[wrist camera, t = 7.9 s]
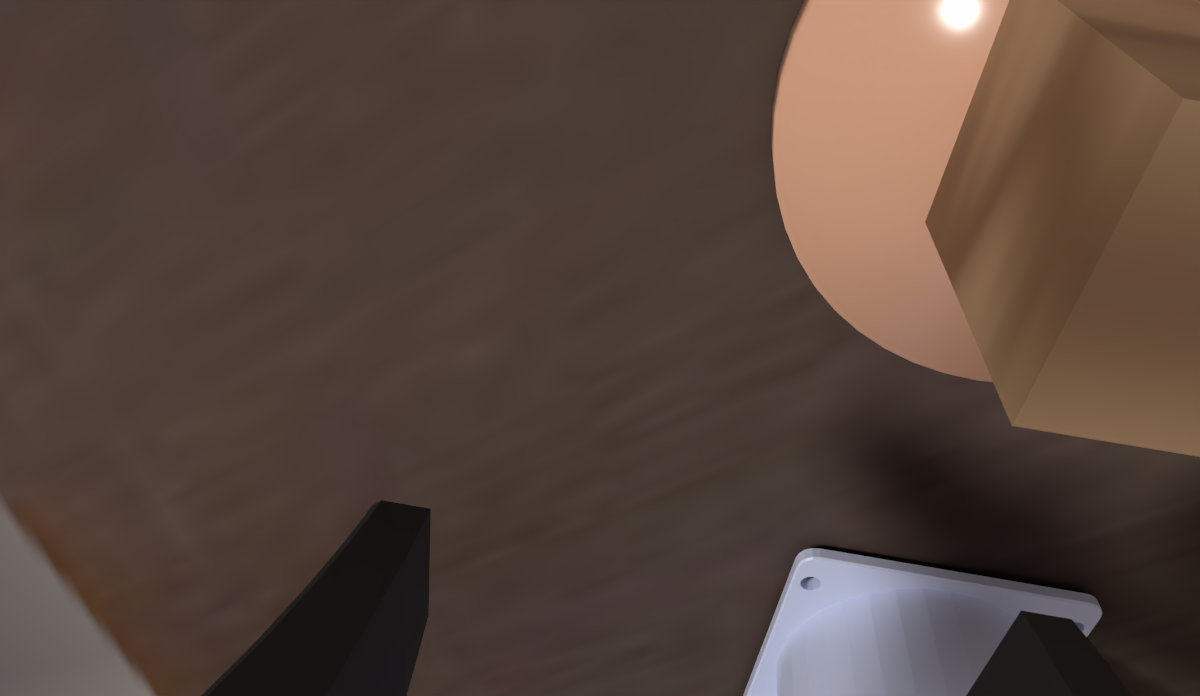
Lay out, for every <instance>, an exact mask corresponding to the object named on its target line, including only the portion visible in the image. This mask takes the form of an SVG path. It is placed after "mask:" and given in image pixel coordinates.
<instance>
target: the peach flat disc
mask: <svg viewBox="0 0 1200 696" xmlns="http://www.w3.org/2000/svg"><path fill="white" fill-rule="evenodd" d="M1008 2H1009V0H803V2H802V4H801V6H800V9H799V11H798V13H797V15H796V17H795V20H794V22H793V24H792V26H791V29H790V33H789V36H788V39H787V42H786V45H785V48H784V52H783V55H782V58H781V61H780V64H779V69H778V75H777V80H776V86H775V91H774V97H773V103H772V124H771V147H772V157H773V167H774V176H775V184H776V192H777V198H778V202H779V206H780V210H781V214H782V218H783V222H784V226H785V229H786V232H787V234H788V236H789V239H790V241H791V244H792V246H793V248H794V251H795V253H796V256H797V258H798V260H799V261H800V263H801V265H802V266H803V268H804V270H805V271H806V273H807V275H808V276H809V278H810V279H811V281H812V283H813V284H814V286H815V287H816V288H817V290H818V291H819V292H820V293H821V294H822V296H823V297H824V298H825V299H826V300H827V301H828V303H829V304H830V305H831V306H832V307H833V309H834V310H835V311H836V312H838V313H839V314H840V315H841V316H842V317H843V318H844V319H845V320H846V321H848V322H849V323H850V324H851V325H852V326H853V327H854V328H855V329H857V330H858V331H859V332H861V333H862V334H864V335H865V336H867V337H868V338H870V339H871V340H873V341H874V342H876V343H877V344H879V345H880V346H882V347H883V348H885V349H887V350H889V351H891V352H893V353H895V354H897V355H899V356H901V357H903V358H905V359H907V360H909V361H911V362H914V363H916V364H919V365H922V366H925V367H928V368H931V369H934V370H936V371H939V372H942V373H946V374H951V375H955V376H959V377H964V378H968V379H973V380H978V381H987V382H993V380H992V378H991V376H990V373H989V371H988V369H987V366H986V364H985V362H984V359H983V357H982V355H981V352H980V350H979V347H978V345H977V343H976V340H975V338H974V336H973V333H972V331H971V329H970V326H969V324H968V322H967V319H966V317H965V315H964V312H963V310H962V308H961V305H960V303H959V301H958V298H957V296H956V294H955V291H954V289H953V287H952V284H951V282H950V279H949V277H948V275H947V272H946V270H945V268H944V265H943V263H942V261H941V258H940V256H939V254H938V251H937V249H936V247H935V244H934V242H933V240H932V237H931V235H930V233H929V230H928V228H927V226H926V223H925V221H926V218H927V216H928V213H929V210H930V208H931V205H932V203H933V200H934V197H935V195H936V192H937V189H938V187H939V184H940V182H941V179H942V176H943V174H944V171H945V168H946V166H947V163H948V160H949V158H950V155H951V153H952V150H953V147H954V145H955V142H956V139H957V137H958V134H959V131H960V129H961V126H962V124H963V121H964V118H965V116H966V113H967V110H968V108H969V105H970V102H971V100H972V97H973V95H974V92H975V89H976V87H977V84H978V81H979V79H980V76H981V73H982V71H983V68H984V66H985V63H986V60H987V58H988V55H989V52H990V50H991V47H992V45H993V42H994V39H995V37H996V34H997V31H998V29H999V26H1000V23H1001V21H1002V18H1003V16H1004V13H1005V10H1006V8H1007V5H1008Z"/></svg>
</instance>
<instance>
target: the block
mask: <svg viewBox="0 0 1200 696" xmlns="http://www.w3.org/2000/svg"><path fill="white" fill-rule="evenodd" d="M925 223H926V226H927V228H928V230H929V233H930V235H931V237H932V240H933V242H934V244H935V247H936V249H937V251H938V254H939V256H940V258H941V261H942V263H943V265H944V268H945V270H946V272H947V275H948V277H949V279H950V282H951V284H952V287H953V289H954V291H955V294H956V296H957V298H958V301H959V303H960V305H961V308H962V310H963V312H964V315H965V317H966V319H967V322H968V324H969V326H970V329H971V331H972V333H973V336H974V338H975V340H976V343H977V345H978V347H979V350H980V352H981V355H982V357H983V359H984V362H985V364H986V366H987V369H988V371H989V373H990V376H991V378H992V380H993V383H994V385H995V387H996V390H997V392H998V394H999V397H1000V399H1001V401H1002V404H1003V406H1004V408H1005V411H1006V413H1007V416H1008V418H1009V420H1010V423H1011V425H1012V426H1016V427H1022V428H1028V429H1035V430H1041V431H1047V432H1053V433H1059V434H1065V435H1071V436H1077V437H1083V438H1089V439H1095V440H1101V441H1107V442H1113V443H1120V444H1126V445H1132V446H1138V447H1144V448H1150V449H1156V450H1162V451H1168V452H1174V453H1180V454H1186V455H1192V456H1198V457H1200V0H1009V2H1008V5H1007V8H1006V10H1005V13H1004V16H1003V18H1002V21H1001V23H1000V26H999V29H998V31H997V34H996V37H995V39H994V42H993V45H992V47H991V50H990V52H989V55H988V58H987V60H986V63H985V66H984V68H983V71H982V73H981V76H980V79H979V81H978V84H977V87H976V89H975V92H974V95H973V97H972V100H971V102H970V105H969V108H968V110H967V113H966V116H965V118H964V121H963V124H962V126H961V129H960V131H959V134H958V137H957V139H956V142H955V145H954V147H953V150H952V153H951V155H950V158H949V160H948V163H947V166H946V168H945V171H944V174H943V176H942V179H941V182H940V184H939V187H938V189H937V192H936V195H935V197H934V200H933V203H932V205H931V208H930V210H929V213H928V216H927V218H926V221H925Z"/></svg>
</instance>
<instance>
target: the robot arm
mask: <svg viewBox="0 0 1200 696" xmlns="http://www.w3.org/2000/svg"><path fill="white" fill-rule="evenodd" d="M429 556H430V509H428V508H422V507H416V506H411V505H405V504H399V503H393V502H387V501H382V500H381V501H380V502H378V503H376V504H374V505H372V507H371V508H370V509H369V511H368V512H367V513H366V515H365V516H364V517H363V519H362V520H361V521H360V523H359V524H358V525H357V526H356V528H355V529H354V530H353V531H352V533H351V534H350V535H349V537H348V538H347V539H346V540H345V542H344V543H343V544H342V545H341V546H340V548H339V549H338V550H337V551H336V553H335V554H334V555H333V556H332V557H331V559H330V560H329V561H328V562H327V563H326V564H325V566H324V567H323V568H322V569H321V570H320V571H319V573H318V574H317V575H316V576H315V577H314V578H313V579H312V581H311V582H310V583H309V584H308V585H307V586H306V588H305V589H304V590H303V591H302V592H301V593H300V594H299V595H298V596H297V598H296V599H295V600H294V601H293V602H292V603H291V604H290V605H289V606H288V607H287V608H286V610H285V611H284V612H283V613H282V614H281V615H280V616H279V617H278V618H277V619H276V620H275V621H274V623H273V624H272V625H271V626H270V627H269V628H268V629H267V630H266V631H265V632H264V633H263V634H262V636H261V637H260V638H259V639H258V640H257V641H256V642H255V643H254V644H253V645H252V646H251V647H250V648H249V649H248V650H247V651H246V652H245V653H244V654H243V655H242V656H241V657H240V658H239V659H238V660H237V661H236V662H235V663H234V664H233V665H232V666H231V667H230V668H229V669H228V670H227V671H226V672H225V673H224V674H223V675H222V676H221V677H220V678H219V679H218V680H217V681H216V682H215V683H214V684H213V685H212V686H211V687H210V688H209V689H208V690H207V691H206V692H205V693H204V694H203V695H202V696H406V695H407V691H408V688H409V684H410V680H411V677H412V673H413V670H414V666H415V663H416V659H417V655H418V652H419V648H420V644H421V641H422V637H423V633H424V629H425V626H426V622H427V618H428V605H429ZM807 577H814V578H807ZM1101 616H1102V610H1101V607H1100V605H1099V603H1098V601H1097V599H1096V598H1095V597H1094V596H1092V595H1089V594H1086V593H1080V592H1074V591H1068V590H1062V589H1056V588H1050V587H1044V586H1039V585H1033V584H1027V583H1021V582H1015V581H1009V580H1003V579H997V578H991V577H986V576H980V575H974V574H968V573H962V572H956V571H950V570H944V569H938V568H933V567H927V566H921V565H915V564H909V563H903V562H897V561H891V560H885V559H880V558H874V557H868V556H862V555H856V554H850V553H844V552H838V551H833V550H827V549H821V548H810V549H805V550H803V551H802V552H800V553H799V554H798V555H797V557H796V558H795V561H794V563H793V566H792V569H791V571H790V574H789V577H788V579H787V582H786V584H785V587H784V590H783V592H782V595H781V598H780V600H779V603H778V605H777V608H776V611H775V613H774V616H773V618H772V621H771V624H770V626H769V629H768V632H767V634H766V637H765V639H764V642H763V645H762V647H761V650H760V653H759V655H758V658H757V660H756V663H755V666H754V668H753V671H752V673H751V676H750V679H749V681H748V684H747V687H746V689H745V692H744V694H743V696H1132V695H1131V694H1130V693H1129V692H1128V690H1127V689H1126V688H1125V686H1124V685H1123V684H1122V682H1121V681H1120V680H1119V679H1118V677H1117V676H1116V675H1115V673H1114V672H1113V671H1112V670H1111V668H1110V667H1109V666H1108V664H1107V663H1106V662H1105V660H1104V659H1103V658H1102V657H1101V655H1100V654H1099V653H1098V651H1097V650H1096V649H1095V648H1094V646H1093V645H1092V644H1091V643H1090V641H1089V640H1088V639H1087V636H1088V635H1089V633H1090V632H1091V631H1092V629H1093V628H1094V627H1095V625H1096V624H1097V623H1098V621H1099V620H1100V618H1101Z"/></svg>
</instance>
